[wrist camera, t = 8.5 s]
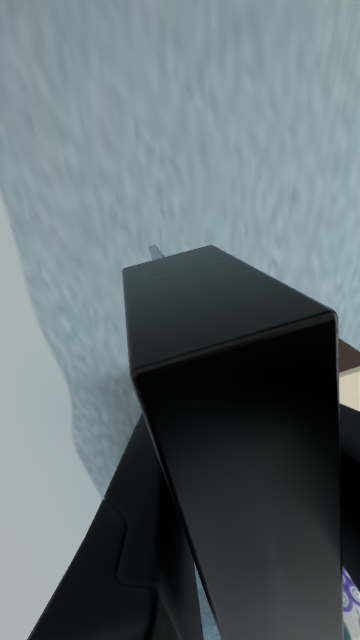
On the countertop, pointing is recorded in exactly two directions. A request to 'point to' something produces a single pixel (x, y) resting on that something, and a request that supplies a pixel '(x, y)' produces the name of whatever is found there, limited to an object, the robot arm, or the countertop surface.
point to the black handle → (244, 436)
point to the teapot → (350, 608)
